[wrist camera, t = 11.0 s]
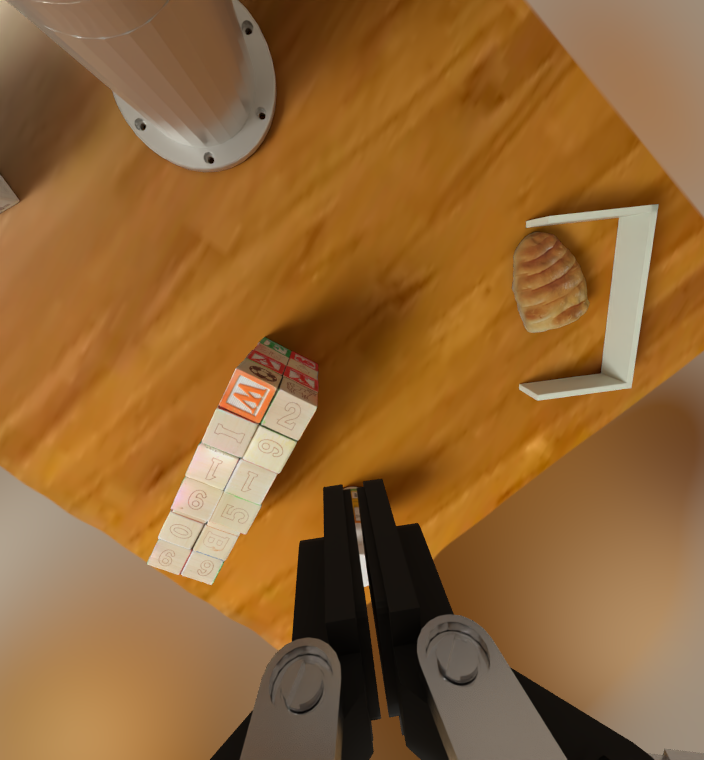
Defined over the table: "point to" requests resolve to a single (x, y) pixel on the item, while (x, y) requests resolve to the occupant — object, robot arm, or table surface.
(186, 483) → the stack of blocks
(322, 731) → the robot arm
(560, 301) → the pastry
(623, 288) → the frame
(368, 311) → the table surface
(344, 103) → the table surface
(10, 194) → the supplement box
